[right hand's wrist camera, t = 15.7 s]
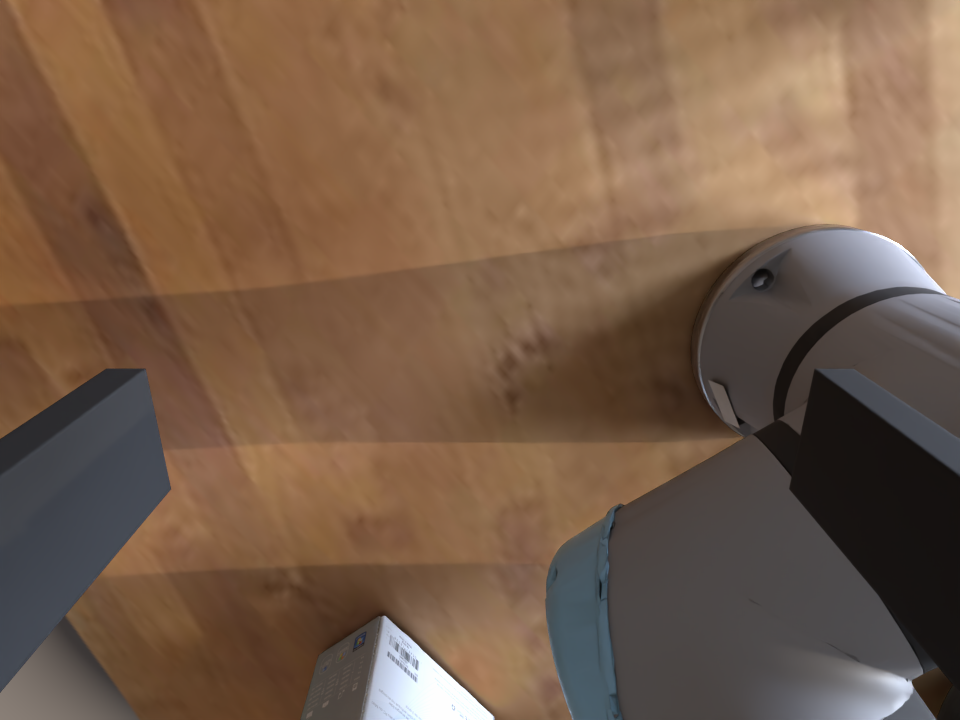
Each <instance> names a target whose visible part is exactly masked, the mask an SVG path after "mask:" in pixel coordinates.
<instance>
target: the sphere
mask: <svg viewBox="0 0 960 720" xmlns="http://www.w3.org/2000/svg"><path fill="white" fill-rule="evenodd" d="M937 720H960V692H959V691H958V690H957V689H956V687H955V686H954V685H953V686H952V688H951V689H950V691H949V692H948V694H947V696H946V698H945V700H944V702H943V704H942V707H941V709H940V712H939V714H938V717H937Z"/></svg>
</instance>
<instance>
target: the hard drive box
mask: <svg viewBox="0 0 960 720" xmlns="http://www.w3.org/2000/svg"><path fill="white" fill-rule="evenodd" d="M300 720H494V717H493V715H491V714H490V713H489V712H488V711H487V710H486V709H485V708H484V707H483V706H482V705H481V704H480V703H478V702H477V700H476V699H475V698H474V697H472V696H471V695H470V694H469V693H468V692H467V691H466V690H465V689H464V688H463V687H461V686H460V685H459V684H458V683H457V682H456V681H455V680H454V679H453V678H452V677H451V676H450V675H448V674H447V673H446V672H445V671H444V670H443V669H442V668H441V667H440V666H439V665H438V664H437V663H435V662H434V661H433V660H432V659H431V658H430V657H429V656H428V655H427V654H426V653H425V652H424V651H423V650H422V649H421V648H420V647H419V646H418V645H417V644H416V643H415V642H414V641H413V640H412V639H411V638H410V637H409V636H407V635H406V634H405V633H404V632H402V631H401V630H400V629H399V628H398V627H397V626H396V625H395V624H393V623H392V622H391V621H390V620H389V619H388V618H387V617H386V616H382V617H380V616H378V617H377V618H375V619H374V620H372V621H370V622H369V623H367V624H366V625H364V626H363V627H361V628H360V629H358V630H357V631H355V632H354V633H352V634H350V635H349V636H347V637H346V638H344V639H343V640H341V641H340V642H338V643H337V644H335V645H333V646H332V647H330V648H329V649H327V650H326V651H324V652H323V653H321V654H320V655H319V656H318V659H317V663H316V666H315V670H314V673H313V677H312V681H311V684H310V688H309V691H308V695H307V698H306V702H305V705H304V708H303V712H302V716H301V719H300Z"/></svg>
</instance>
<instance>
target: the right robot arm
mask: <svg viewBox="0 0 960 720" xmlns="http://www.w3.org/2000/svg"><path fill="white" fill-rule="evenodd" d="M691 362H692V369H693V373H694V377H695V380H696V383H697V385H698V388H699V390H700V392H701V394H702V395H703V397H704V398H705V400H706V401H707V403H708V404H709V405H710V407H711V408H712V409H713V410H714V411H715V413H716V414H717V415H718V416H719V417H720V419H721V420H722V421H723V422H724V423H725V424H726V425H727V426H728V427H730V428H731V429H732V430H734V431H735V432H736V433H738V434H740V435H741V436H743V437H745V438H743V439H742V440H740V441H738V442H737V443H735V444H733V445H731V446H730V447H728V448H726V449H725V450H723V451H721V452H719V453H718V454H716V455H714V456H713V457H711V458H709V459H707V460H705V461H704V462H702V463H700V464H698V465H696V466H695V467H693V468H691V469H689V470H688V471H686V472H684V473H682V474H680V475H679V476H677V477H675V478H673V479H671V480H670V481H668V482H666V483H664V484H662V485H661V486H659V487H657V488H655V489H653V490H652V491H650V492H648V493H646V494H644V495H643V496H641V497H639V498H637V499H636V500H634V501H632V502H630V503H628V504H627V505H623V504H618V505H616V506H614V507H613V508H611V509H610V510H609V511H608V513H607V515H606V517H604V518H603V519H601V520H599V521H598V522H596V523H595V524H593V525H592V526H590V527H589V528H587V529H585V530H584V531H582V532H581V533H579V534H578V535H576V536H574V537H573V538H571V539H570V540H568V541H567V542H566V543H565V544H563V545H562V546H561V547H560V549H559V550H558V551H557V553H556V554H555V556H554V558H553V560H552V562H551V564H550V567H549V571H548V576H547V582H546V600H545V602H546V618H547V626H548V633H549V639H550V645H551V649H552V654H553V658H554V663H555V667H556V670H557V674H558V678H559V681H560V684H561V688H562V691H563V694H564V697H565V700H566V703H567V706H568V708H569V711H570V714H571V717H572V719H573V720H936V718H935V717H934V716H933V714H932V713H931V711H930V710H929V709H928V707H927V706H926V704H925V703H924V701H923V700H922V699H921V697H920V696H919V694H918V693H917V692H916V690H915V689H914V687H913V685H912V683H911V682H912V680H913V679H915V678H917V677H919V676H920V675H922V674H925V673H926V672H928V671H930V670H932V669H935V668H937V667H939V668H940V670H941V671H942V672H943V673H944V674H945V676H946V677H947V678H948V679H949V680H950V682H951V683H952V684H953V685H954V686H955V687H956V689H957V690H958V691H959V692H960V300H959V299H956V298H953V297H951V296H948V295H946V294H945V292H944V291H943V290H942V289H941V288H940V287H939V286H938V285H937V284H936V282H935V281H934V280H933V279H932V278H931V277H930V276H929V275H928V274H927V273H926V271H925V270H924V269H923V267H922V266H921V265H920V263H919V262H918V261H917V260H916V259H915V258H914V257H913V256H912V255H911V254H910V253H909V252H908V251H907V250H905V249H904V248H903V247H901V246H900V245H898V244H897V243H895V242H893V241H891V240H889V239H888V238H885V237H883V236H880V235H878V234H874V233H871V232H867V231H864V230H861V229H857V228H853V227H849V226H843V225H831V224H824V225H811V226H804V227H800V228H796V229H792V230H789V231H786V232H783V233H780V234H777V235H775V236H773V237H771V238H768V239H766V240H765V241H763V242H761V243H759V244H757V245H756V246H754V247H753V248H751V249H750V250H748V251H747V252H745V253H744V254H743V255H741V256H740V257H739V258H738V259H736V260H735V261H734V262H733V263H732V264H731V265H730V266H729V267H728V268H727V269H726V270H725V271H724V272H723V273H722V275H721V276H720V277H719V278H718V279H717V281H716V282H715V283H714V285H713V286H712V288H711V289H710V291H709V292H708V294H707V296H706V297H705V299H704V301H703V303H702V305H701V307H700V310H699V312H698V315H697V317H696V321H695V324H694V328H693V333H692V339H691ZM170 490H171V487H170V482H169V477H168V472H167V468H166V463H165V458H164V454H163V449H162V444H161V439H160V435H159V430H158V425H157V420H156V416H155V411H154V406H153V402H152V397H151V392H150V387H149V383H148V378H147V373H146V369H105V370H104V371H102V372H101V373H99V374H98V375H96V376H95V377H93V378H92V379H90V380H89V381H87V382H86V383H84V384H83V385H81V386H80V387H78V388H77V389H75V390H74V391H72V392H71V393H69V394H68V395H66V396H65V397H63V398H62V399H60V400H59V401H57V402H56V403H54V404H53V405H51V406H50V407H48V408H47V409H45V410H44V411H42V412H41V413H39V414H38V415H36V416H34V417H33V418H31V419H30V420H28V421H27V422H25V423H24V424H22V425H21V426H19V427H18V428H16V429H15V430H13V431H12V432H10V433H9V434H7V435H6V436H4V437H3V438H1V439H0V692H1V691H2V690H3V689H4V687H5V686H6V685H7V684H8V683H9V682H10V680H11V679H12V678H13V677H14V676H15V674H16V673H17V672H18V671H19V670H20V668H21V667H22V666H23V665H24V664H25V662H26V661H27V660H28V659H29V658H30V657H31V655H32V654H33V653H34V652H35V651H36V649H37V648H38V647H39V646H40V645H41V643H42V642H43V641H44V640H45V639H46V637H47V636H48V635H49V634H50V633H51V631H52V630H53V629H54V628H55V627H56V625H57V624H58V623H59V622H60V621H61V620H62V618H63V617H64V616H65V615H66V614H67V612H68V611H69V610H70V609H71V608H72V606H73V605H74V604H75V603H76V602H77V601H78V599H79V598H80V597H81V596H82V595H83V593H84V592H85V591H86V590H87V589H88V587H89V586H90V585H91V584H92V583H93V581H94V580H95V579H96V578H97V577H98V575H99V574H100V573H101V572H102V571H103V570H104V568H105V567H106V566H107V565H108V564H109V562H110V561H111V560H112V559H113V558H114V556H115V555H116V554H117V553H118V552H119V550H120V549H121V548H122V547H123V546H124V544H125V543H126V542H127V541H128V540H129V539H130V537H131V536H132V535H133V534H134V533H135V531H136V530H137V529H138V528H139V527H140V525H141V524H142V523H143V522H144V521H145V519H146V518H147V517H148V516H149V515H150V514H151V512H152V511H153V510H154V509H155V508H156V506H157V505H158V504H159V503H160V502H161V500H162V499H163V498H164V497H165V496H166V494H167V493H168V492H169V491H170Z"/></svg>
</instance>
